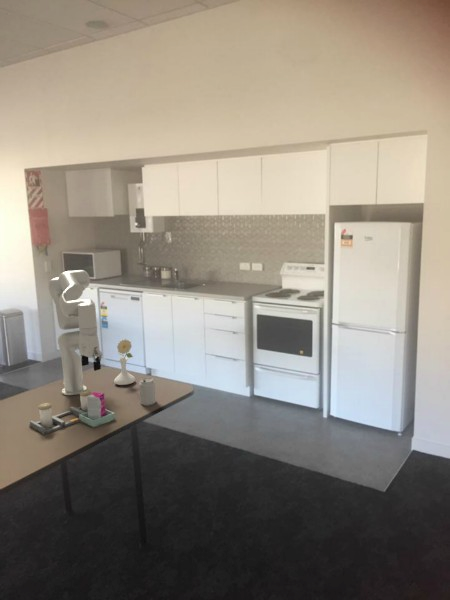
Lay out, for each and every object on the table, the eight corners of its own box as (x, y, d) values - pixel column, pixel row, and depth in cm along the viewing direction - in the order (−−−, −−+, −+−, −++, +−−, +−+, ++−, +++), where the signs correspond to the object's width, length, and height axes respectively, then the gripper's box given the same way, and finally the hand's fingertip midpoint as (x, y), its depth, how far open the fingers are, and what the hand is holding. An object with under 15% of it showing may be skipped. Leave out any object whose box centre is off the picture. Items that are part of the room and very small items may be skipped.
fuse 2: (79, 412, 235) (77, 392, 233) (89, 409, 239) (87, 389, 237) (85, 415, 231) (83, 394, 230) (95, 411, 235) (93, 391, 233)
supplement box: (100, 422, 222) (98, 397, 220) (88, 421, 224) (86, 396, 222) (106, 416, 228) (104, 392, 226) (94, 415, 229) (92, 392, 227)
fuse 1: (38, 427, 221) (36, 405, 219) (49, 423, 224) (47, 402, 223) (44, 430, 217) (42, 408, 215) (55, 426, 221) (53, 404, 219)
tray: (79, 420, 226) (78, 414, 225) (100, 413, 234) (100, 406, 233) (93, 427, 218) (92, 421, 218) (115, 419, 226) (114, 413, 226)
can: (141, 400, 247) (139, 377, 245) (156, 399, 247) (155, 376, 245) (139, 406, 240) (138, 382, 237) (155, 405, 240) (154, 381, 238)
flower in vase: (109, 384, 272) (106, 339, 267) (125, 378, 281) (122, 334, 276) (126, 389, 264) (122, 342, 259) (142, 382, 273) (139, 337, 268)
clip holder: (29, 426, 222) (28, 421, 221) (89, 405, 243) (88, 400, 243) (43, 434, 213) (42, 429, 212) (104, 412, 234) (103, 407, 234)
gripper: (70, 329, 225) (73, 365, 229) (91, 335, 213) (94, 374, 217) (85, 325, 230) (88, 361, 234) (106, 332, 219) (109, 369, 222)
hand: (91, 367), depth 226 cm, fingers open, 9 cm apart
